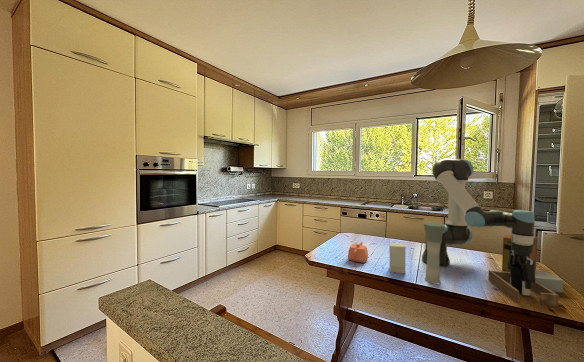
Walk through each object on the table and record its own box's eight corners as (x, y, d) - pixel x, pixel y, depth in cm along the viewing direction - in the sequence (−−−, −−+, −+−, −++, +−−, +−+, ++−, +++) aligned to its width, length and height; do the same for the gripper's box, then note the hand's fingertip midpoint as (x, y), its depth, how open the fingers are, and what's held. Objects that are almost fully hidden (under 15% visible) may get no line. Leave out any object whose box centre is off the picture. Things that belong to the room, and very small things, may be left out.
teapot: (345, 262, 150) (345, 246, 150) (353, 253, 166) (353, 239, 165) (363, 266, 144) (363, 249, 144) (370, 256, 160) (370, 241, 159)
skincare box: (404, 269, 139) (404, 243, 138) (405, 274, 133) (406, 247, 132) (388, 267, 142) (389, 242, 141) (389, 272, 136) (389, 245, 135)
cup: (504, 288, 118) (505, 264, 117) (518, 287, 118) (519, 263, 118) (520, 296, 110) (521, 270, 109) (535, 295, 111) (537, 270, 110)
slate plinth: (534, 290, 116) (535, 277, 115) (518, 279, 126) (519, 268, 126) (562, 292, 113) (563, 280, 113) (544, 282, 124) (545, 270, 123)
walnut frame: (516, 302, 105) (516, 291, 105) (488, 279, 127) (488, 270, 126) (558, 306, 102) (559, 295, 102) (522, 282, 123) (522, 273, 123)
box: (522, 278, 128) (524, 241, 127) (501, 271, 136) (503, 237, 135) (535, 271, 136) (537, 237, 135) (515, 266, 144) (516, 233, 143)
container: (436, 286, 119) (438, 227, 118) (418, 278, 128) (419, 223, 126) (447, 282, 124) (449, 224, 122) (429, 275, 132) (430, 221, 131)
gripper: (549, 251, 102) (546, 303, 103) (516, 237, 122) (514, 281, 123) (527, 249, 104) (525, 300, 105) (499, 236, 124) (497, 279, 125)
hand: (519, 290), depth 114 cm, fingers closed on cup, 8 cm apart
